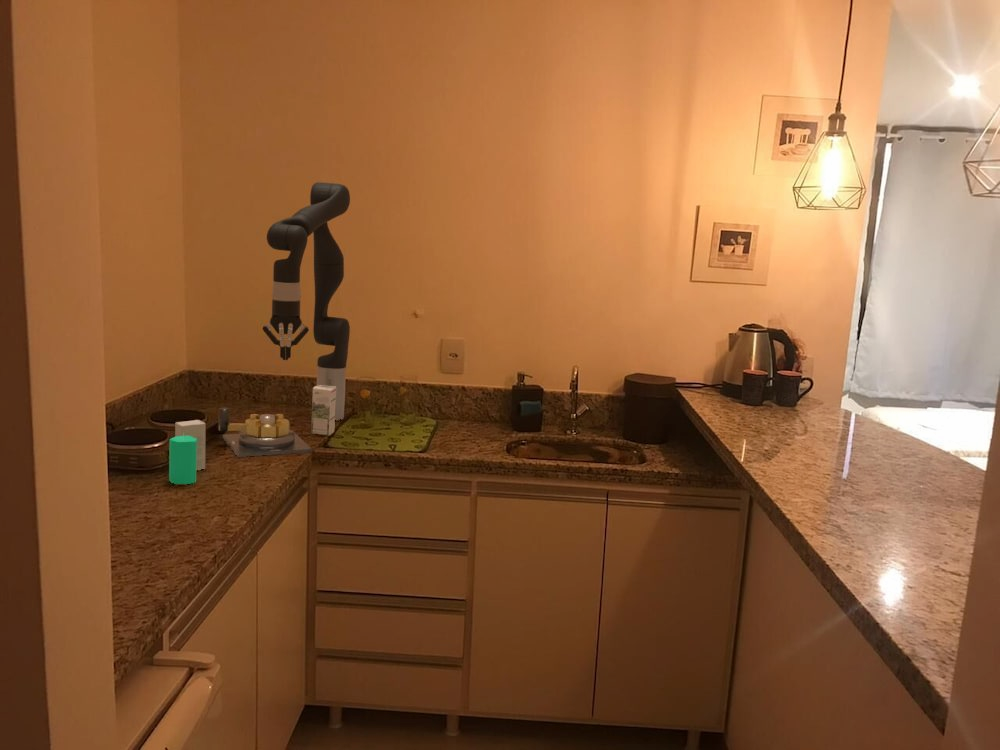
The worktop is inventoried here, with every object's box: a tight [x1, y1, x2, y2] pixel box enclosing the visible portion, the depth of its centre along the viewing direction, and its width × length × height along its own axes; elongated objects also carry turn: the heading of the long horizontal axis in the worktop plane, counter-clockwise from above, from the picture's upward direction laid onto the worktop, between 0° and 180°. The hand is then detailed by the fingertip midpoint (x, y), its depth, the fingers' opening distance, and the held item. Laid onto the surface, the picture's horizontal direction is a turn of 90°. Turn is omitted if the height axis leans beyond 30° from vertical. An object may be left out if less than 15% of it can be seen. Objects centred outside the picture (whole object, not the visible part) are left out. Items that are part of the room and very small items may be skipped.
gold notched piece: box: [218, 407, 290, 438], centre depth 216 cm, size 19×12×7 cm, turn 110°
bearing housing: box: [222, 413, 313, 458], centre depth 218 cm, size 20×20×8 cm
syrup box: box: [310, 384, 336, 437], centre depth 234 cm, size 6×6×14 cm
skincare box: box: [174, 419, 207, 471], centre depth 191 cm, size 6×4×12 cm
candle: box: [168, 432, 198, 485], centre depth 182 cm, size 6×6×12 cm
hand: (285, 359), depth 217 cm, fingers closed
